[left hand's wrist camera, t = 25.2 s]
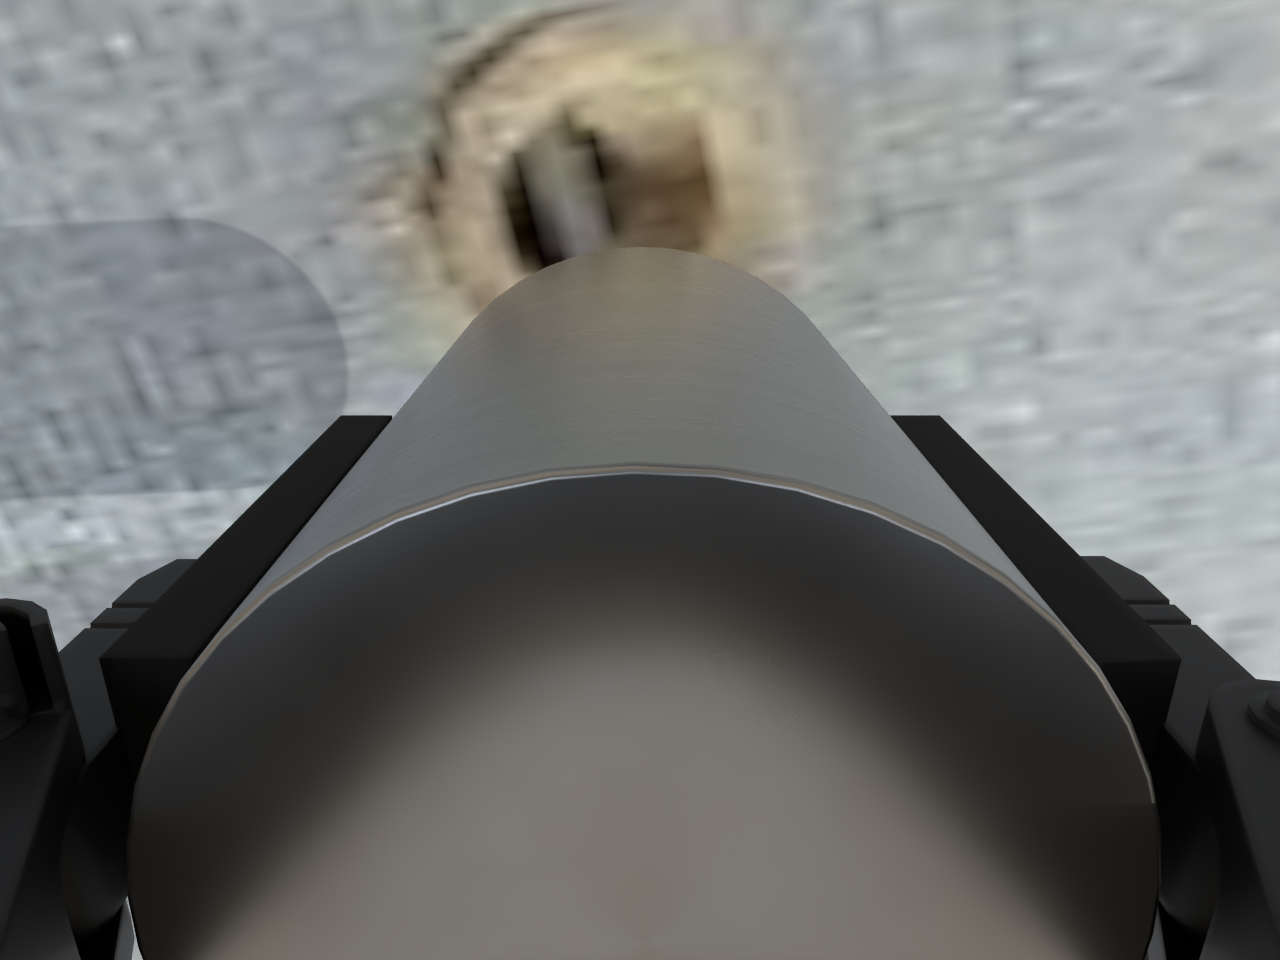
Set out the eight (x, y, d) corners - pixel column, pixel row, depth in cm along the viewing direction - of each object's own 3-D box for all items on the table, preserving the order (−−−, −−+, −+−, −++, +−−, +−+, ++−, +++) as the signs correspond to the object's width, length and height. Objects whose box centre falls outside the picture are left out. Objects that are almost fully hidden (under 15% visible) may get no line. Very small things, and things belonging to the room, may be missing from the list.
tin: (372, 285, 14) (-59, 557, 5) (846, 212, 14) (1206, 379, 5) (473, 681, 17) (295, 1292, 8) (873, 630, 16) (1138, 1214, 8)
